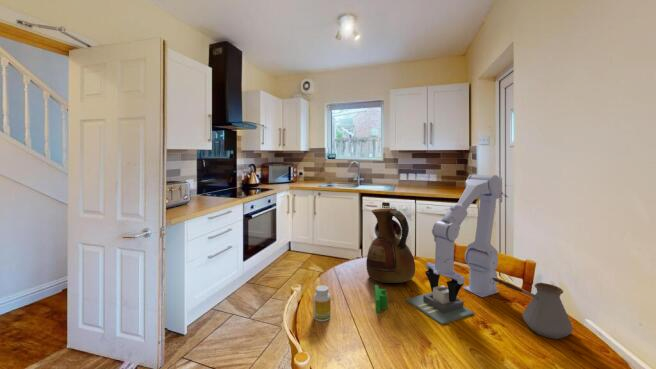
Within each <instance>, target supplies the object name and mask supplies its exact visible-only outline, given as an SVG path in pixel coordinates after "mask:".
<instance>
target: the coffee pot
mask: <svg viewBox="0 0 656 369" xmlns="http://www.w3.org/2000/svg"><path fill="white" fill-rule="evenodd" d="M491 279H493V280H494V282H495V281H496V282H497V283H498V284H499V285H503V286H505V287H506V288H508V289H511V290H513V291H516V292H519V293H522V294H524V295H526V296H528V297H531V300H530V302H529V304H527V306H526V308H525V309H524V310H523V312H522V313H521V314H522V320H524V322H525V324H526V325H527V326H528V327H529V328H530V329H531V330H532V331H533V332H535V333H536V334H538V335H540V336H542V337H545V338H550V339H555V340H556V339H558V340H559V339H563V338H565V337H568V336H569V335H571V333H572V332H573V331H574V330H573V329H574V327H573V324H572V322H571V320H570V318H569V315H568V313H567V311H566V309H565V307H564V304H563V301H562V299H561V295H562V294H563V293H564V290H563V289H562V288H561V287H559V286H557V285H554V284H550V283H546V282H545V283H544V282H536V283H535V284H534V288H536V291H537V292H536V293H535V294H533V293H531V292H528V291H526V290H523V289H522V288H520V287H517V286H516V285H514V284H512V283H509V282H507V281H503V280H502V279H498V278H497V279H496V278H491ZM491 279H490V281H491ZM490 284H491V282H490ZM493 284H494V283H493Z"/></svg>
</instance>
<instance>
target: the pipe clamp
mask: <svg viewBox="0 0 656 369" xmlns="http://www.w3.org/2000/svg"><path fill="white" fill-rule="evenodd" d="M374 302H375V313H376V314H380V313H381V309H383V310H384V309H386V310H387V309H388V295H387V289H386V288H379V284H375V285H374Z"/></svg>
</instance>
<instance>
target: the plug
mask: <svg viewBox="0 0 656 369" xmlns="http://www.w3.org/2000/svg"><path fill="white" fill-rule="evenodd" d="M433 299H434V300H436V301H438V302H439V303H441V304H443V305H445V304H449V303H452V302H449V290H448V286H445V285H438V286H437V287H434V288H433Z"/></svg>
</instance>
